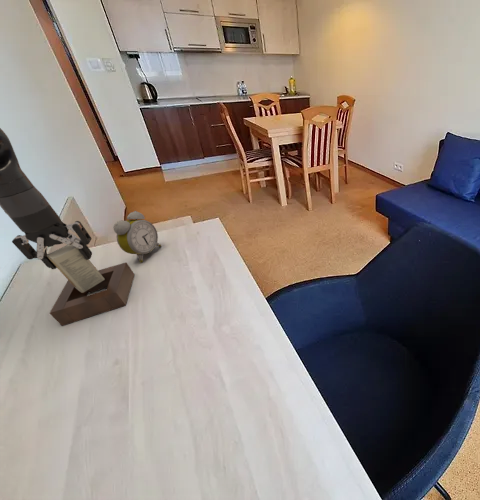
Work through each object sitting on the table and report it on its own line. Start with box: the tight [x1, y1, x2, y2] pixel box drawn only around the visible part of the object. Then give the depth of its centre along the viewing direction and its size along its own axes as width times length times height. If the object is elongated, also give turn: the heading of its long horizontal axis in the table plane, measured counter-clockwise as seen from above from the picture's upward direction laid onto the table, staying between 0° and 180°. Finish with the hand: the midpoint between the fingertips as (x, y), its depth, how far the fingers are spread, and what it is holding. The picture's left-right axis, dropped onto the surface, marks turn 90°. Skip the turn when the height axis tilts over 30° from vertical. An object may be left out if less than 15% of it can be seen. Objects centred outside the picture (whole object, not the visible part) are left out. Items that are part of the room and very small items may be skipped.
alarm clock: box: [112, 210, 162, 263], centre depth 102 cm, size 12×7×15 cm, turn 171°
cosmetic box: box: [46, 244, 105, 293], centre depth 82 cm, size 6×4×12 cm
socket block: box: [49, 262, 135, 327], centre depth 88 cm, size 16×16×5 cm
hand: (72, 262), depth 81 cm, fingers closed on cosmetic box, 7 cm apart
